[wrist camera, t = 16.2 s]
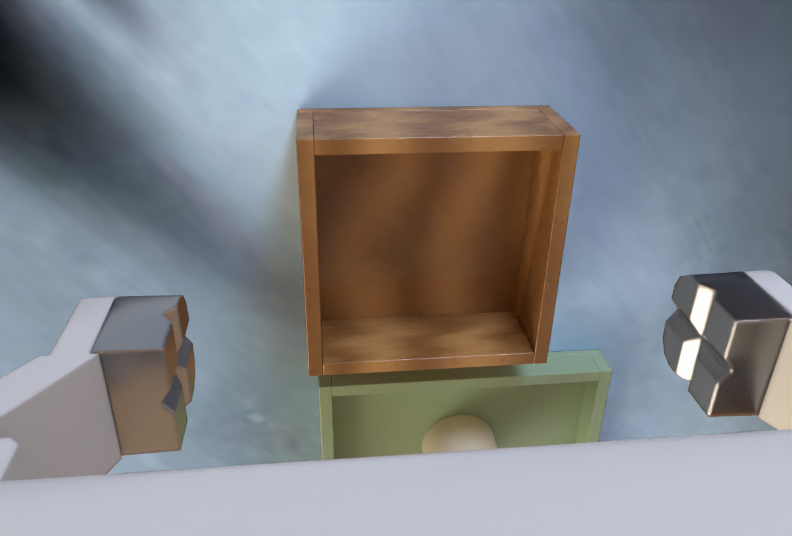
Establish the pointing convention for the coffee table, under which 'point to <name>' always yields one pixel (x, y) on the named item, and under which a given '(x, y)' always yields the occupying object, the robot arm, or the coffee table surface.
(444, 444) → the candle
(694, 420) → the coffee table surface
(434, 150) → the wooden box
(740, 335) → the robot arm
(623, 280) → the coffee table surface
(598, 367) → the tray
